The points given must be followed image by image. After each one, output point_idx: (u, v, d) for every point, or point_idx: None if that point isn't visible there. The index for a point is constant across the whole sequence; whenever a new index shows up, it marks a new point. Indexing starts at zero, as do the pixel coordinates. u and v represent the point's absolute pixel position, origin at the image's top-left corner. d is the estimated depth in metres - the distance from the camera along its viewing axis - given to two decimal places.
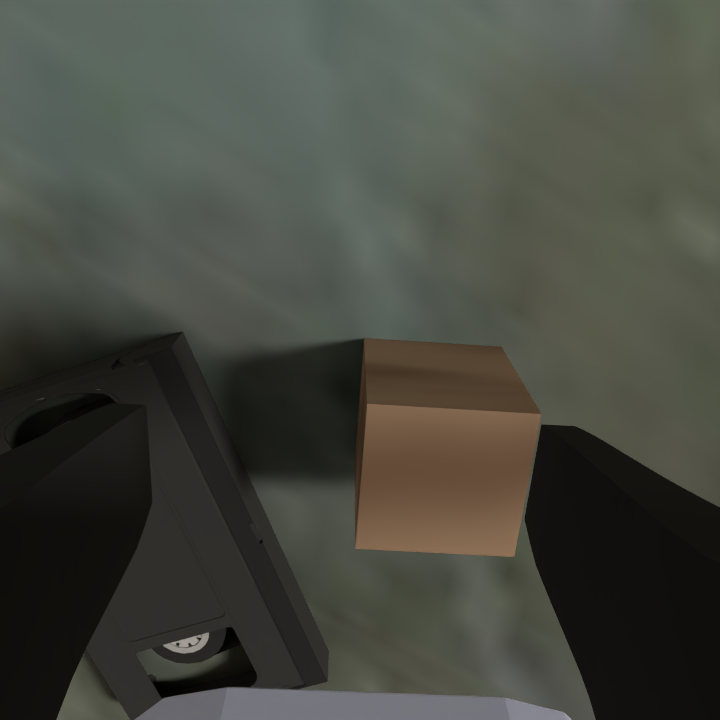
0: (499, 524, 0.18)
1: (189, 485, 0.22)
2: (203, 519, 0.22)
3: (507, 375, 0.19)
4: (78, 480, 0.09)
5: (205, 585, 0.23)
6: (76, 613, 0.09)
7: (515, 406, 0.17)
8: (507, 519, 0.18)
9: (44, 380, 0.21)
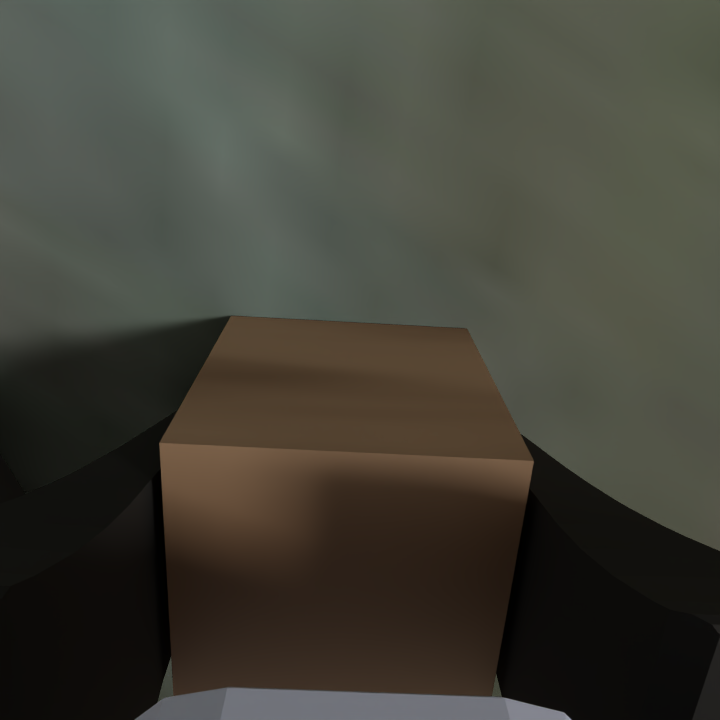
0: (453, 673, 0.09)
1: None
2: None
3: (471, 378, 0.10)
4: None
5: None
6: (167, 617, 0.09)
7: (480, 443, 0.08)
8: (470, 665, 0.09)
9: None
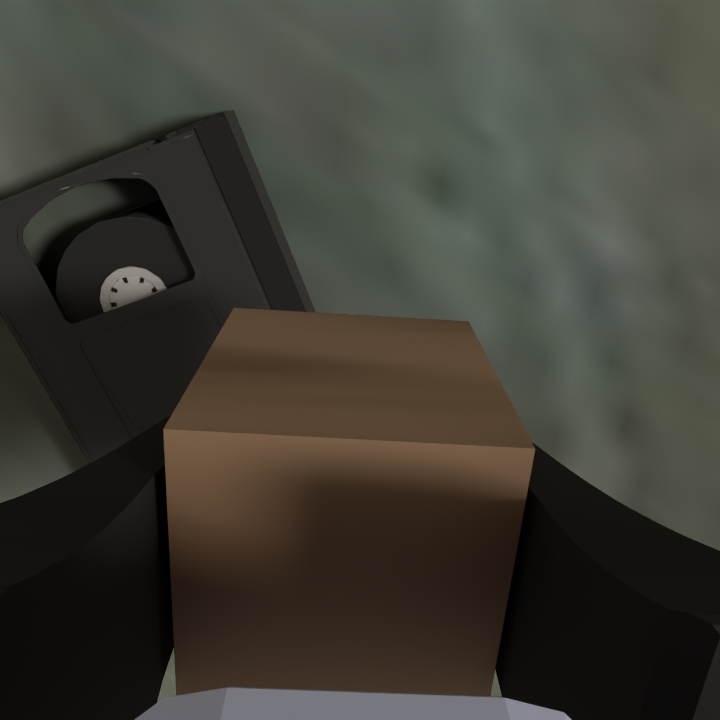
0: (454, 661, 0.09)
1: (245, 302, 0.18)
2: None
3: (473, 368, 0.10)
4: None
5: None
6: (166, 617, 0.09)
7: (482, 430, 0.08)
8: (470, 653, 0.09)
9: None
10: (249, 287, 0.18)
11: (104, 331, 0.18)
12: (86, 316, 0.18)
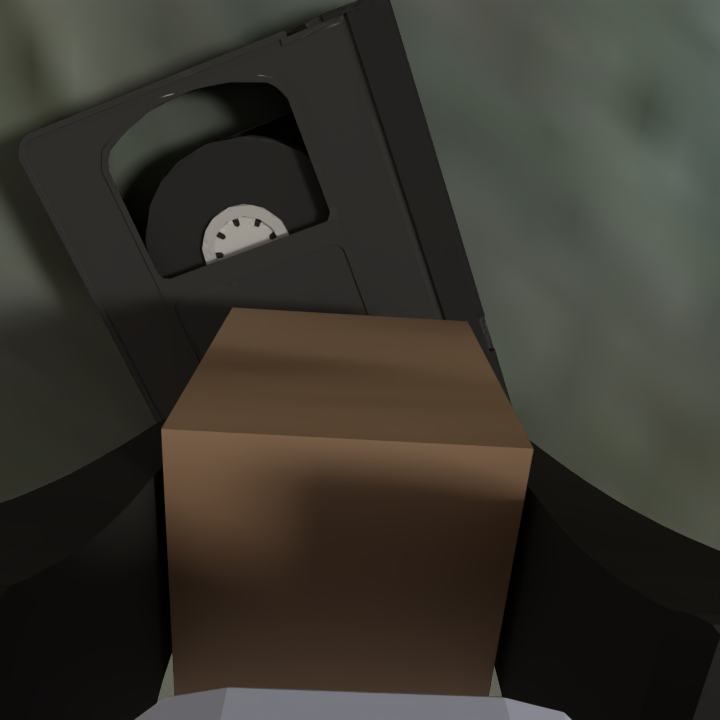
0: (452, 662, 0.09)
1: (391, 252, 0.14)
2: (406, 312, 0.14)
3: (471, 369, 0.10)
4: None
5: None
6: (167, 616, 0.09)
7: (479, 431, 0.08)
8: (469, 653, 0.09)
9: None
10: (398, 232, 0.14)
11: (206, 289, 0.14)
12: (182, 270, 0.14)
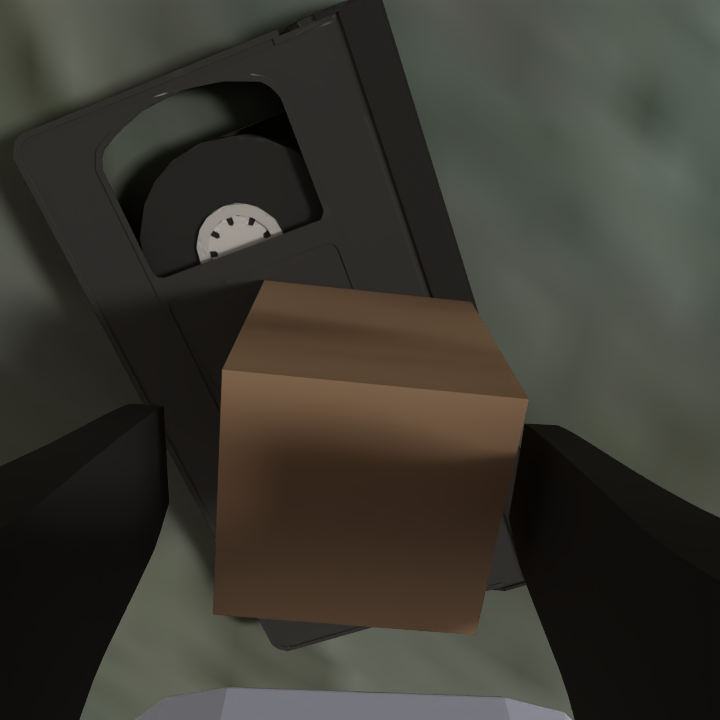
0: (452, 582, 0.11)
1: (384, 250, 0.14)
2: None
3: (477, 338, 0.12)
4: (100, 482, 0.09)
5: None
6: (98, 614, 0.09)
7: (485, 384, 0.10)
8: (466, 575, 0.11)
9: None
10: (391, 231, 0.14)
11: (201, 288, 0.14)
12: (177, 269, 0.14)
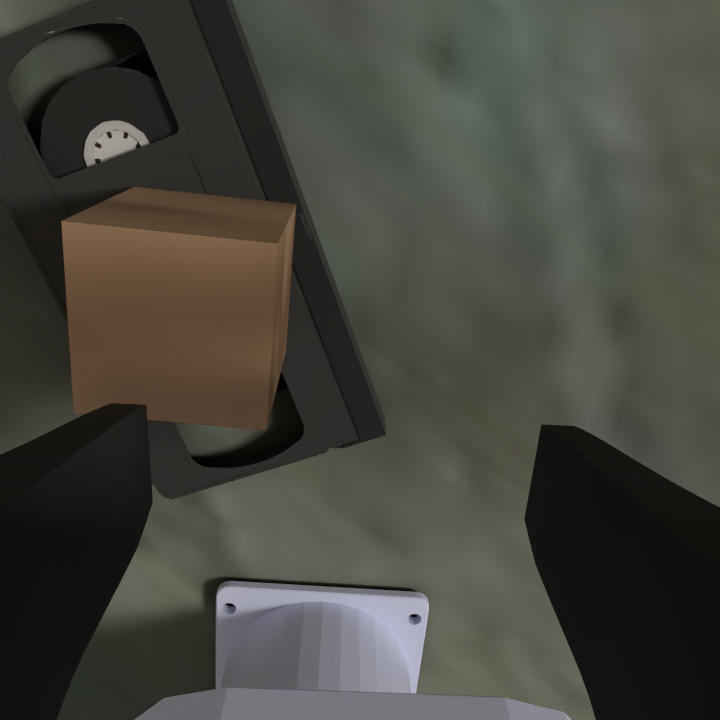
0: (243, 387, 0.15)
1: (228, 159, 0.18)
2: None
3: (275, 219, 0.16)
4: (78, 480, 0.09)
5: None
6: (76, 613, 0.09)
7: (252, 237, 0.14)
8: (252, 381, 0.15)
9: None
10: (232, 143, 0.18)
11: (87, 187, 0.18)
12: (70, 173, 0.19)
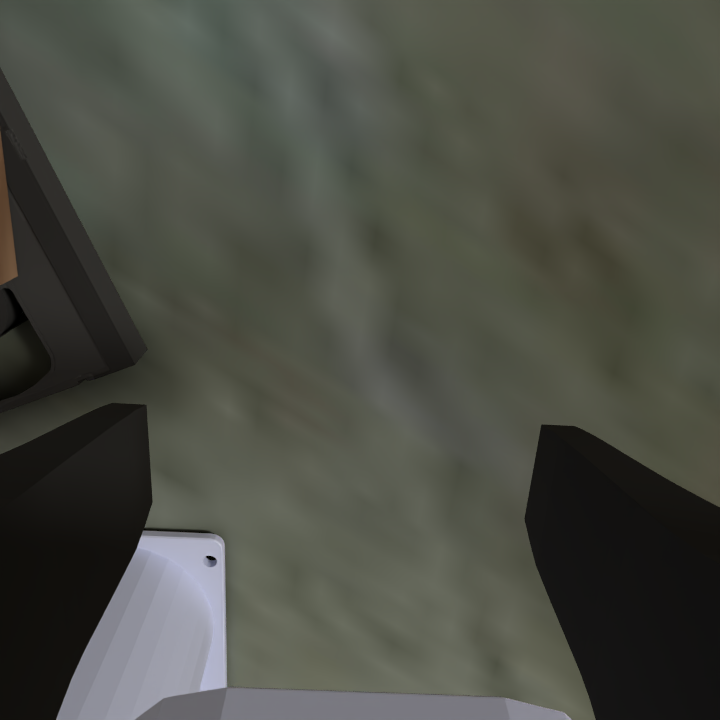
0: None
1: None
2: None
3: None
4: (78, 480, 0.09)
5: None
6: (76, 613, 0.09)
7: None
8: None
9: None
10: None
11: None
12: None
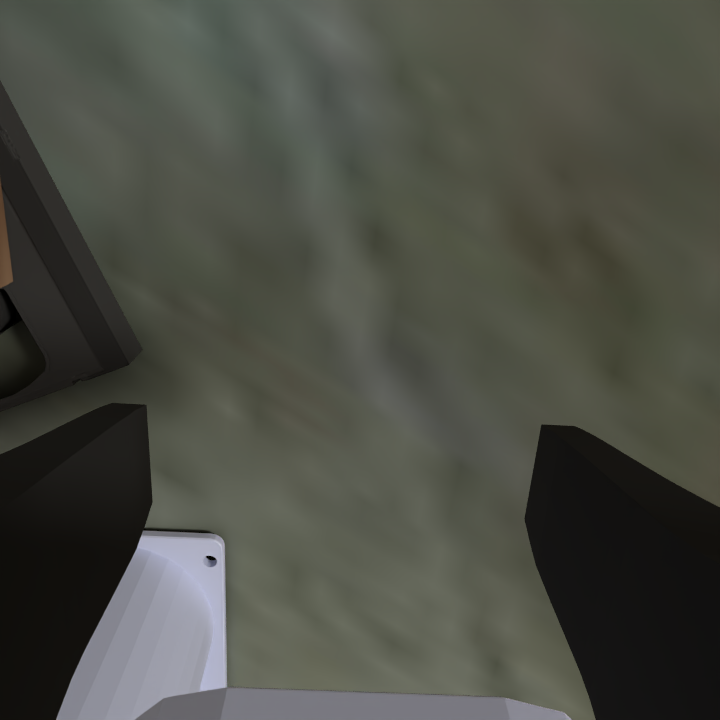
0: None
1: None
2: None
3: None
4: (78, 480, 0.09)
5: None
6: (76, 613, 0.09)
7: None
8: None
9: None
10: None
11: None
12: None
